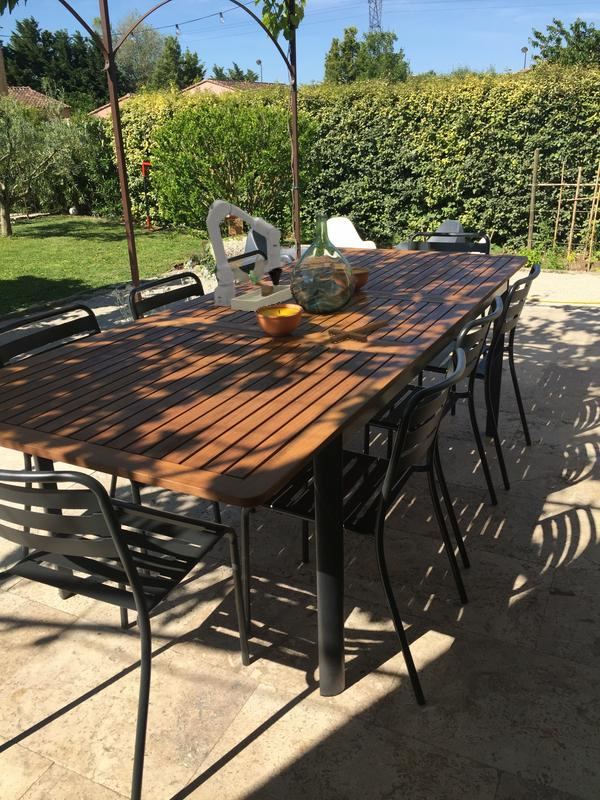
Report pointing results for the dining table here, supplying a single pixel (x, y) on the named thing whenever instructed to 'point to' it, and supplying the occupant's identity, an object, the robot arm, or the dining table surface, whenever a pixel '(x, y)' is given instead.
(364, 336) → the cross
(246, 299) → the trap box
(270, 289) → the walnut block
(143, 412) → the dining table surface
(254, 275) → the decorative bird
